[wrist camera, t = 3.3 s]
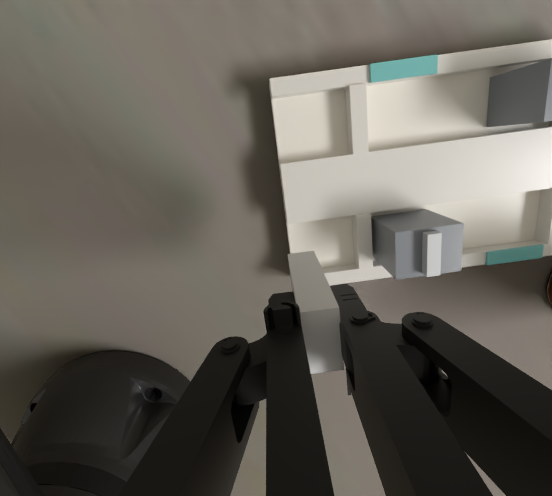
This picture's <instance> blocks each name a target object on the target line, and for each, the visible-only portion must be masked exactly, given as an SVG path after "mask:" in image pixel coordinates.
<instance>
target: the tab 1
mask: <svg viewBox="0 0 552 496" xmlns="http://www.w3.org/2000/svg"><path fill="white" fill-rule="evenodd" d="M371 226H372V252H373V257H374V258H375V259H376V260H377V261H378V262H379V263H380V264H381V265H382V266H383V267H384V268H385V269H386V270H387V271H388V272H389V273H390V274H391V275H392V276H393V277H394V278H395V279H396V280H398V279H405V278H412V277H420V276H426V277H431V276H439V275H440V274H442V273H450V272H457V271H461V264H462V246H463V228H464V223H462V222H459V221H456V220H454V219H451V218H448V217H446V216H443V215H440V214H438V213H435V212H432V211H430V210H427V209H422V210H415V211H407V212H400V213H393V214H385V215H378V216H371Z"/></svg>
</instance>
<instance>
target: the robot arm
mask: <svg viewBox="0 0 552 496" xmlns="http://www.w3.org/2000/svg"><path fill="white" fill-rule="evenodd" d="M288 262H289V270H290V278H291V286H292V292H285V293H277V294H273V295H272V296H271V297H270V299H269V305H268V306H267V307H266V308H265V309H264V317H265V324H266V330H267V334H266V335H265V336H264V337H263V338H261V339H259V340H257V341H255V342H252V343H249V344H248V342H247V340H246V339H244V338H242V337H228V338H225V339H222V340H221V341H219V342H217V343H216V344H215V345H214V346H213V348H212V349H211V351H210V352H209V354H208V355H207V357H206V359H205V360H204V362H203V363H202V365H201V366H200V368H199V370H198V371H197V373H196V374H195V376H194V377H193V379H192V380H191V382H190V381H189V380H188V379H187V378H186V377H184V376H183V375H182V374H181V373H180V372H178V371H177V370H175V369H174V368H172V367H171V366H169V365H167V364H165V363H163V362H161V361H159V360H157V359H154V358H151V357H148V356H145V355H141V354H137V353H131V352H122V351H108V352H99V353H93V354H89V355H86V356H83V357H80V358H77V359H75V360H73V361H71V362H69V363H68V364H66V365H64V366H63V367H62V368H60V369H59V370H58V371H57V372H56V373H55V374H54V375H53V376H52V377H51V378H50V379H49V380H48V381H47V382H46V383H45V384H44V386H43V387H42V388H41V389H40V390H39V391H38V392H37V393H36V395H35V396H34V398H33V399H32V401H31V402H30V404H29V406H28V407H27V410H26V412H25V414H24V417H23V420H22V425H21V427H20V429H19V431H18V432H17V434H16V436H15V438H14V440H13V442H12V444H10V442H9V441H8V439H7V438H6V436H5V435H4V433H3V432H2V430H1V429H0V496H230V494H231V491H232V488H233V485H234V482H235V479H236V476H237V473H238V470H239V467H240V464H241V460H242V457H243V454H244V451H245V448H246V445H247V442H248V439H249V436H250V433H251V430H252V427H253V424H254V421H255V418H256V415H257V411H258V408H259V401H261V400H263V399H266V496H334V492H333V487H332V482H331V476H330V471H329V466H328V461H327V456H326V450H325V445H324V440H323V435H322V430H321V424H320V419H319V414H318V409H317V404H316V398H315V393H314V388H313V383H312V378H311V374H313V373H321V372H329V371H337V370H344V363H345V366H346V375H347V388H348V395H351V393H352V396H353V399H354V402H355V405H356V408H357V411H358V414H359V417H360V420H361V423H362V426H363V429H364V431H365V434H366V437H367V440H368V443H369V446H370V449H371V452H372V455H373V458H374V461H375V464H376V467H377V470H378V473H379V476H380V479H381V482H382V485H383V488H384V491H385V494H386V496H493V495H492V494H491V492H490V490H489V489H488V487H487V486H486V484H485V483H484V481H483V480H482V478H481V476H480V475H479V473H478V472H477V470H476V469H475V467H474V466H473V464H472V462H471V461H470V459H469V458H468V456H467V455H466V453H467V454H468V455H469V456H470V457H471V459H472V460H473V461H474V462H475V463H476V464H477V465H478V466H479V467H480V468H481V469H482V470H483V471H484V472H485V473H486V475H487V476H488V477H489V478H490V479H491V480H492V481H493V482H494V483H495V484H496V485H497V486H498V487H499V488H500V489H501V490H502V492H503V493H504V494H505V495H506V496H552V390H551V389H549V388H547V387H546V386H544V385H543V384H541V383H540V382H538V381H536V380H535V379H533V378H532V377H530V376H529V375H527V374H526V373H524V372H522V371H521V370H519V369H518V368H516V367H515V366H513V365H512V364H510V363H508V362H507V361H505V360H504V359H502V358H501V357H499V356H497V355H496V354H494V353H493V352H491V351H490V350H488V349H487V348H485V347H483V346H482V345H480V344H479V343H477V342H476V341H474V340H473V339H471V338H469V337H468V336H466V335H465V334H463V333H462V332H460V331H458V330H457V329H455V328H454V327H452V326H451V325H449V324H448V323H446V322H444V321H443V320H441V319H440V318H438V317H436V316H434V315H432V314H428V313H424V312H421V313H420V312H415V313H409V314H407V315H405V316H404V317H403V318H402V324H391V323H384V322H381V321H380V319H379V318H378V316H377V315H375V314H374V313H372V312H370V311H367V310H366V308H365V306H364V305H363V303H362V301H361V300H360V299H359V296H358V295H357V293H356V292H355V290H354V288H353V287H351V286H349V285H347V284H341V285H333V286H329V283H328V281H327V279H326V277H325V274H324V272H323V270H322V268H321V265H320V263H319V261H318V259H317V256H316V254H315V252H314V251H307V252H299V253H292V254H288ZM343 360H344V363H343ZM442 370H443V371H444V372H445V373H446V374H447V376H448V377H447V376H446V375H445V374H444V373H442ZM464 451H465V452H466V453H465V452H464Z"/></svg>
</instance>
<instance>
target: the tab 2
mask: <svg viewBox="0 0 552 496" xmlns="http://www.w3.org/2000/svg"><path fill="white" fill-rule="evenodd" d="M547 121H552V58H550V59H547V60H544V61H541V62H538V63H534V64H531V65H528V66H525V67H522V68H519V69H515V70H512V71H509V72H506V73H503V74H499V75H496V76H493V77H490V84H489V98H488V112H487V126H486V127H496V126H506V125H517V124H527V123H538V122H547Z"/></svg>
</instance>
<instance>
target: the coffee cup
mask: <svg viewBox="0 0 552 496" xmlns="http://www.w3.org/2000/svg"><path fill="white" fill-rule="evenodd" d="M547 295H548V299H549V301H550V303H551V305H552V274H551V277H550V279H549V283H548V286H547Z"/></svg>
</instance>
